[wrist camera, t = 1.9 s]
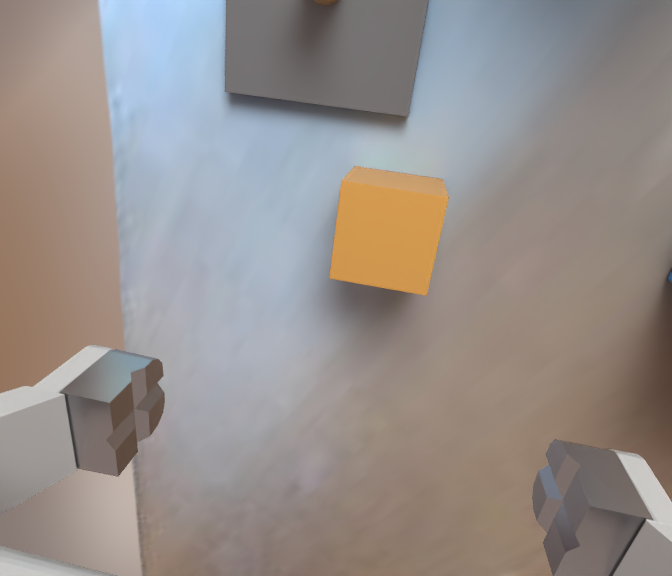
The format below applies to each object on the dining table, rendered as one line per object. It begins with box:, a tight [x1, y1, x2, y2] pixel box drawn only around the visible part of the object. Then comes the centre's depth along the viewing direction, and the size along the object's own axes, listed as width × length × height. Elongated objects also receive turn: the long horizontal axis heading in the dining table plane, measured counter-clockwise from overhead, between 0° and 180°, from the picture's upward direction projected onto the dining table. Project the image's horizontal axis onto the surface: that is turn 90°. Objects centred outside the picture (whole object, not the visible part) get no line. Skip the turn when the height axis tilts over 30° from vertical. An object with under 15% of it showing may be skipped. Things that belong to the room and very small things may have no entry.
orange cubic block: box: [329, 166, 449, 296], centre depth 24 cm, size 5×5×5 cm
